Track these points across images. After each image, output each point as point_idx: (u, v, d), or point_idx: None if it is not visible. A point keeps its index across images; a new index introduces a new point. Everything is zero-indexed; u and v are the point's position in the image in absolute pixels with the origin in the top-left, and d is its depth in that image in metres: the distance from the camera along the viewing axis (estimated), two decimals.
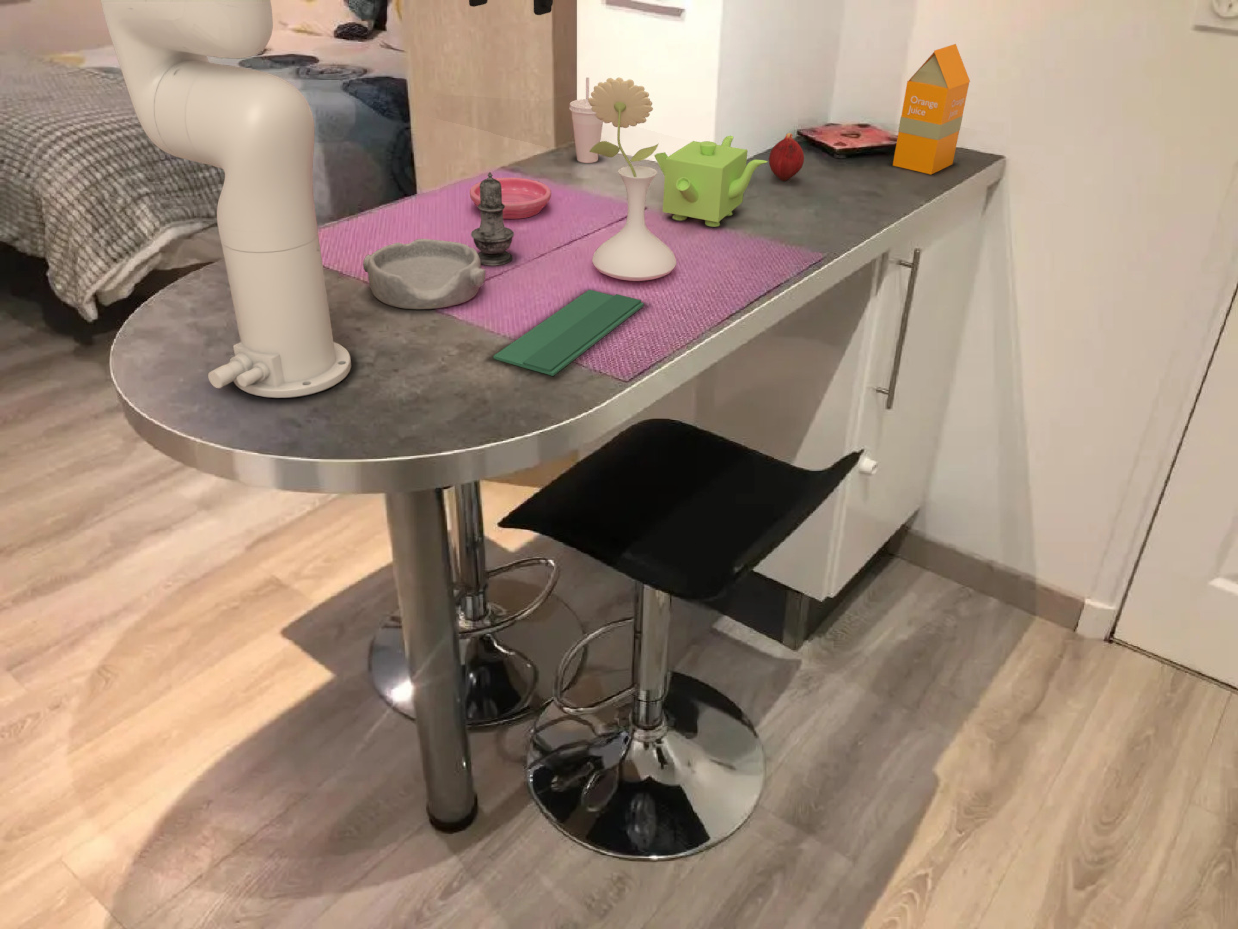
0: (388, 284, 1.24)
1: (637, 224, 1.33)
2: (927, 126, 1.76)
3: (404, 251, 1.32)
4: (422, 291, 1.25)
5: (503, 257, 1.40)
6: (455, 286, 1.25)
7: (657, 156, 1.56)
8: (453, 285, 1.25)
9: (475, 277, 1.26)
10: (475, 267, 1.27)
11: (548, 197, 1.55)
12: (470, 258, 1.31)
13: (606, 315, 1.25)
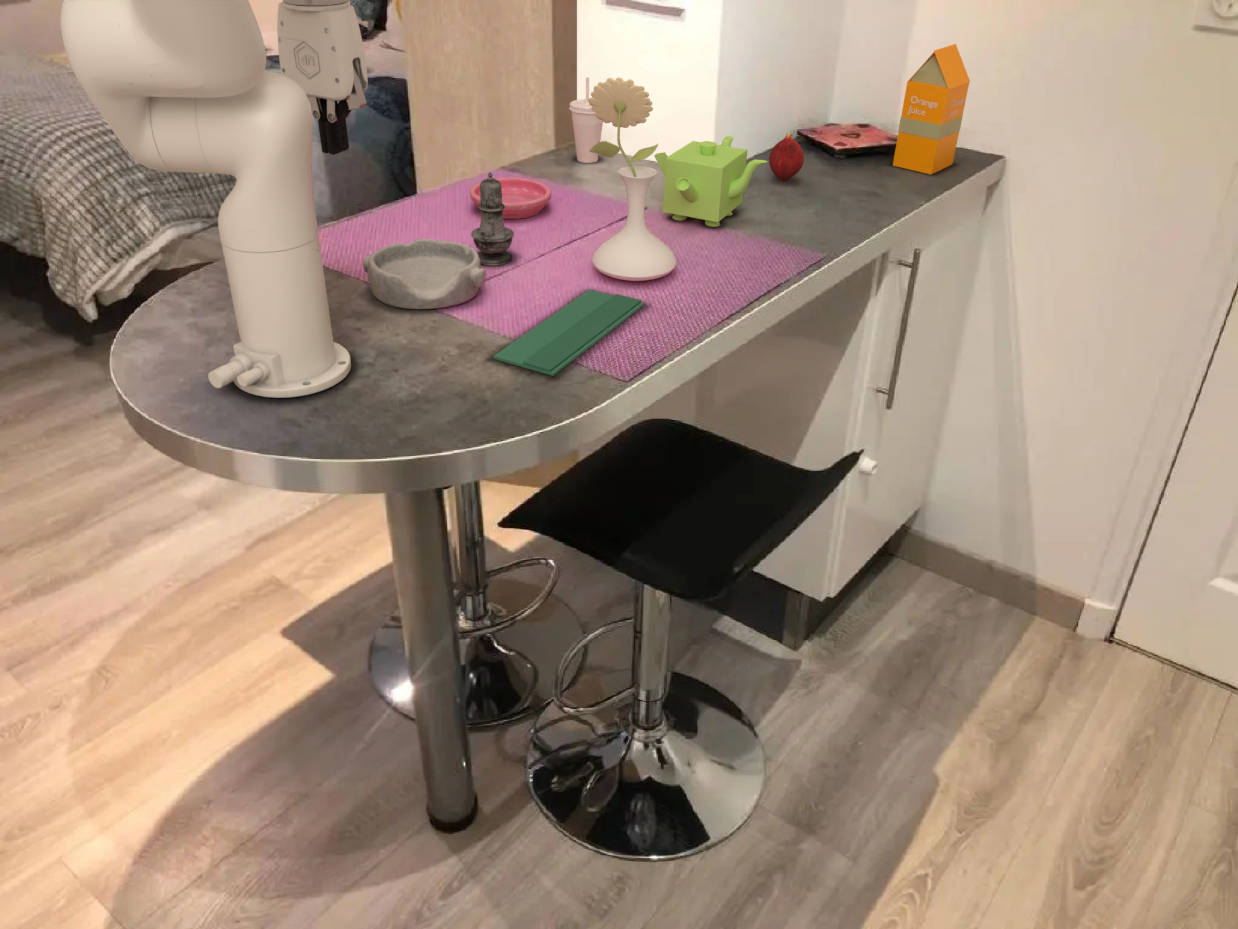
0: (388, 284, 1.24)
1: (637, 224, 1.33)
2: (927, 126, 1.76)
3: (404, 251, 1.32)
4: (422, 291, 1.25)
5: (503, 257, 1.40)
6: (455, 286, 1.25)
7: (657, 156, 1.56)
8: (453, 285, 1.25)
9: (475, 276, 1.26)
10: (475, 267, 1.27)
11: (548, 197, 1.55)
12: (470, 258, 1.31)
13: (606, 315, 1.25)
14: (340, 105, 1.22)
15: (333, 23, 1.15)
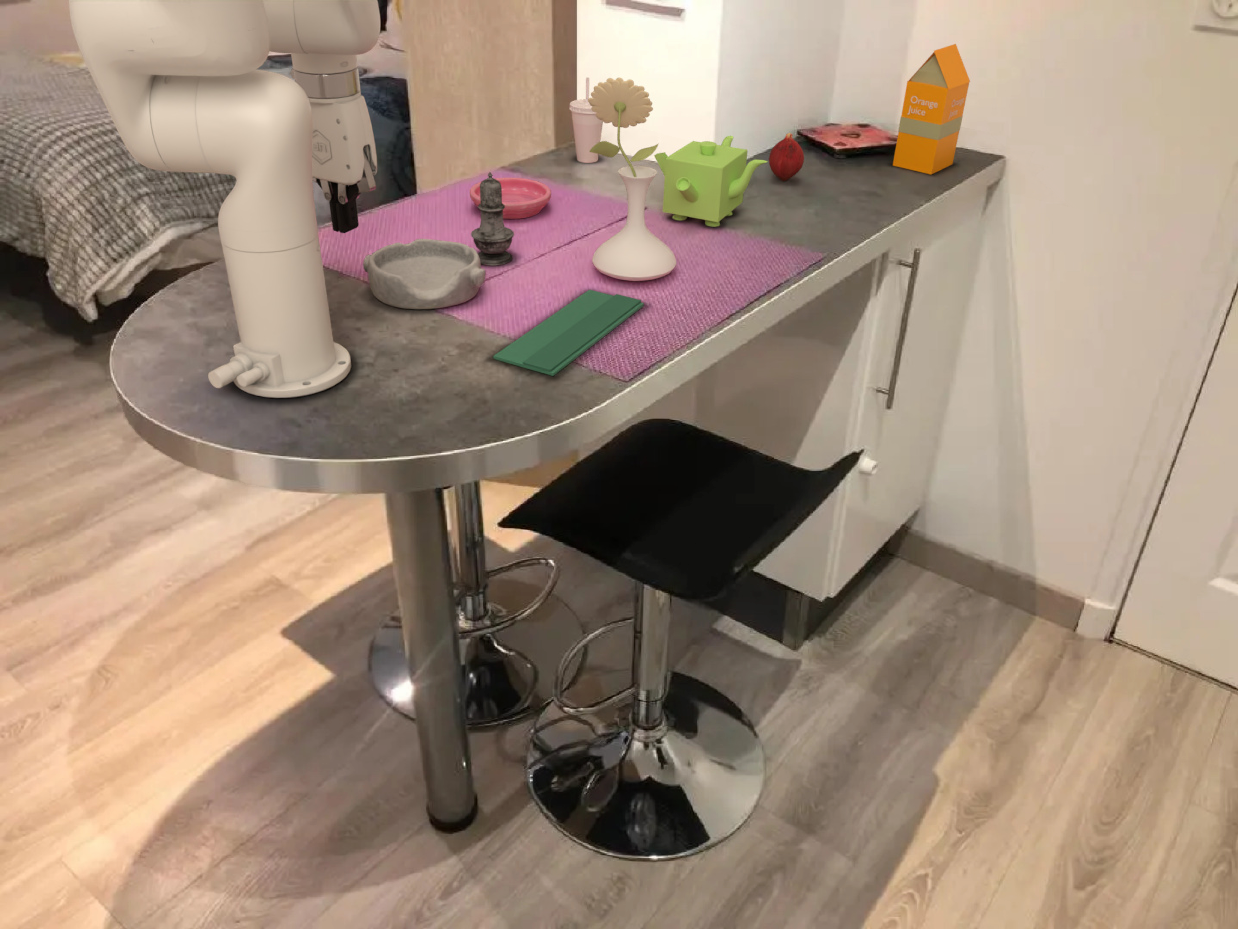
0: (388, 284, 1.24)
1: (637, 224, 1.33)
2: (927, 126, 1.76)
3: (404, 251, 1.32)
4: (422, 291, 1.25)
5: (503, 257, 1.40)
6: (455, 286, 1.25)
7: (657, 156, 1.56)
8: (453, 285, 1.25)
9: (475, 277, 1.26)
10: (475, 267, 1.27)
11: (548, 197, 1.55)
12: (470, 258, 1.31)
13: (606, 315, 1.25)
14: (351, 188, 1.28)
15: (345, 114, 1.21)
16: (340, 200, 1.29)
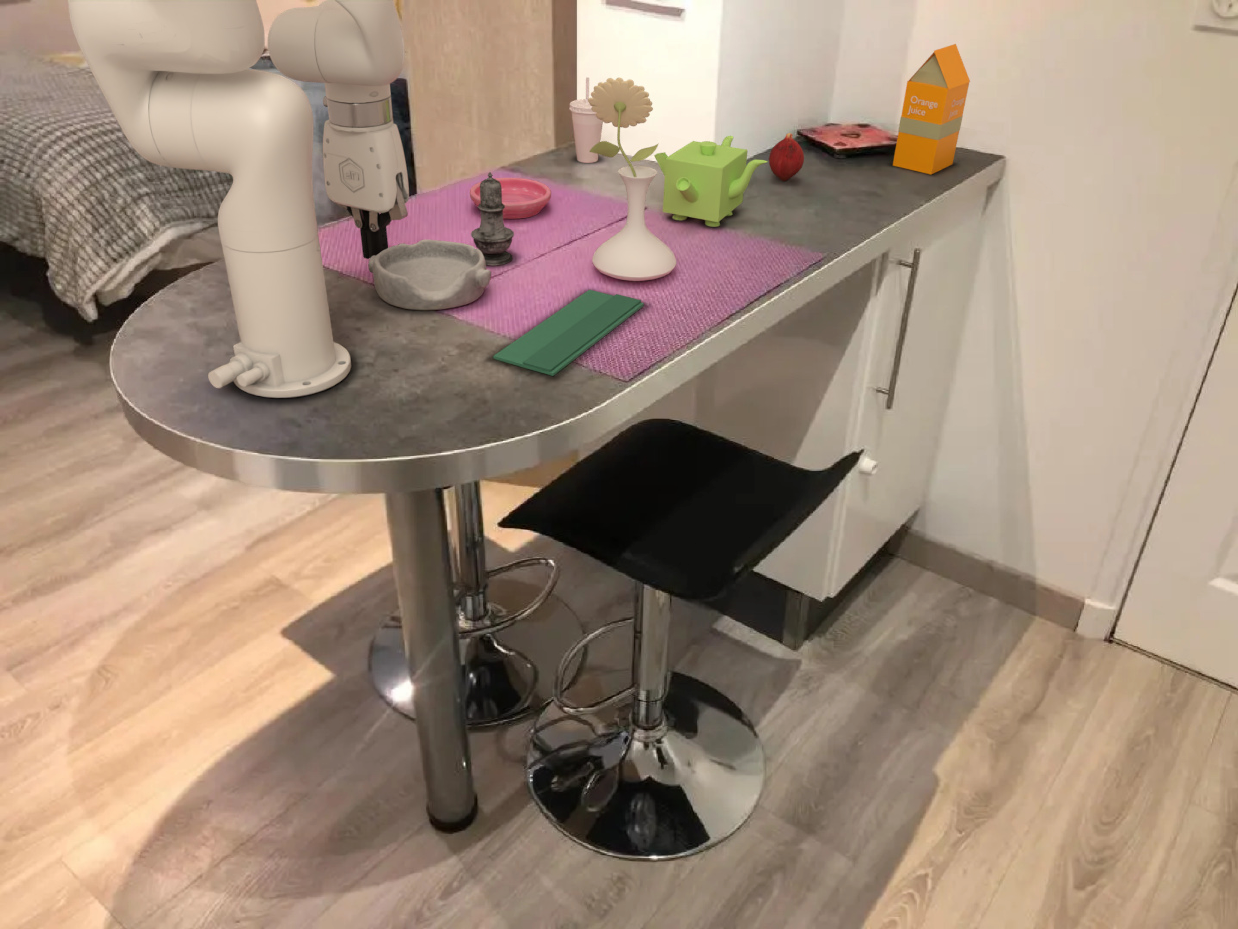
0: (393, 284, 1.24)
1: (637, 224, 1.33)
2: (927, 126, 1.76)
3: (409, 252, 1.32)
4: (427, 292, 1.24)
5: (503, 257, 1.40)
6: (461, 287, 1.25)
7: (657, 156, 1.56)
8: (458, 286, 1.25)
9: (481, 277, 1.26)
10: (480, 268, 1.26)
11: (548, 197, 1.55)
12: (475, 258, 1.30)
13: (606, 315, 1.25)
14: (382, 216, 1.27)
15: (378, 142, 1.20)
16: (371, 228, 1.29)
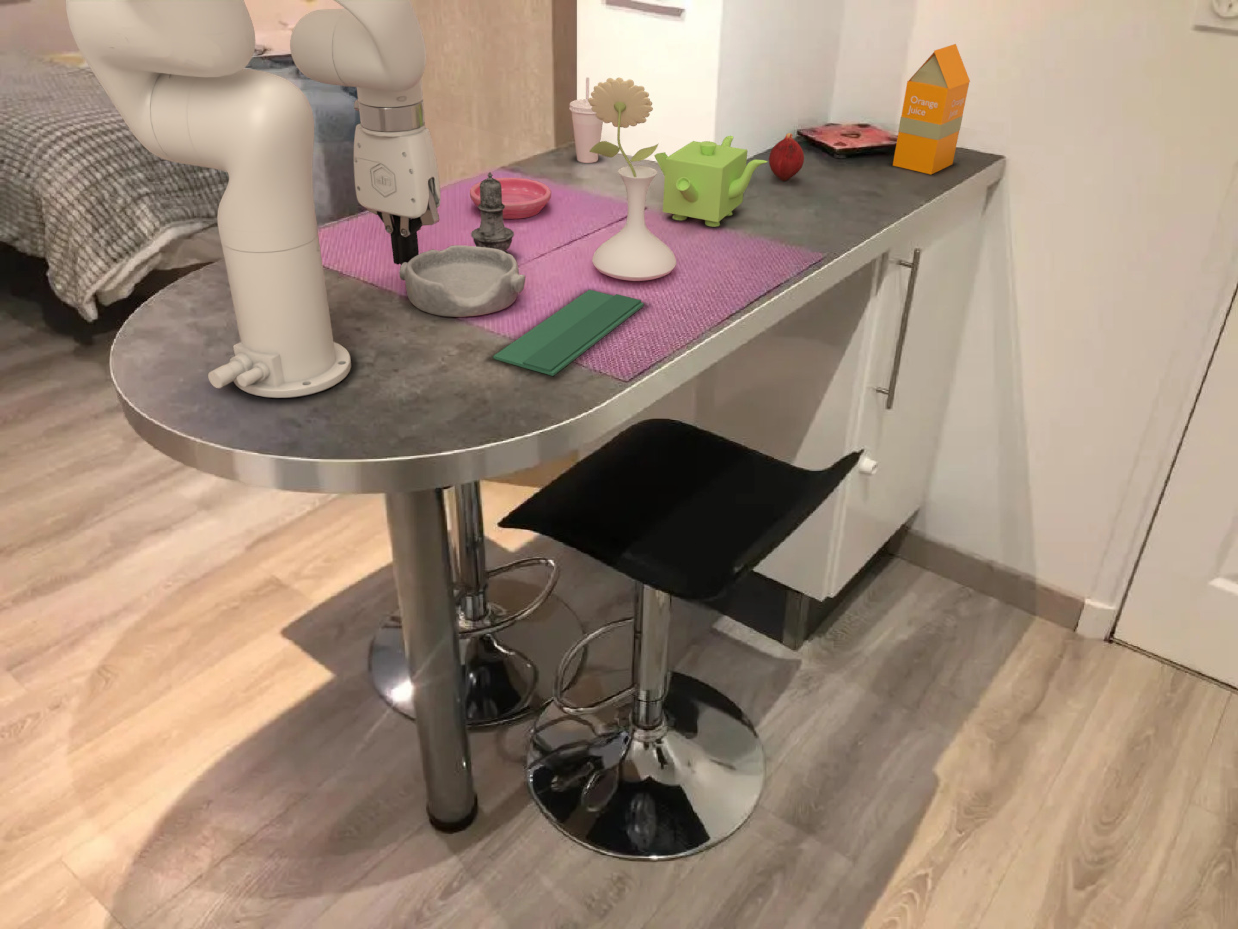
0: (429, 291, 1.22)
1: (637, 224, 1.33)
2: (927, 126, 1.76)
3: (439, 258, 1.31)
4: (463, 298, 1.23)
5: None
6: (496, 293, 1.24)
7: (657, 156, 1.56)
8: (494, 292, 1.24)
9: (516, 283, 1.25)
10: (515, 273, 1.25)
11: (548, 197, 1.55)
12: (507, 264, 1.29)
13: (606, 315, 1.25)
14: (413, 221, 1.26)
15: (411, 147, 1.19)
16: (402, 233, 1.27)
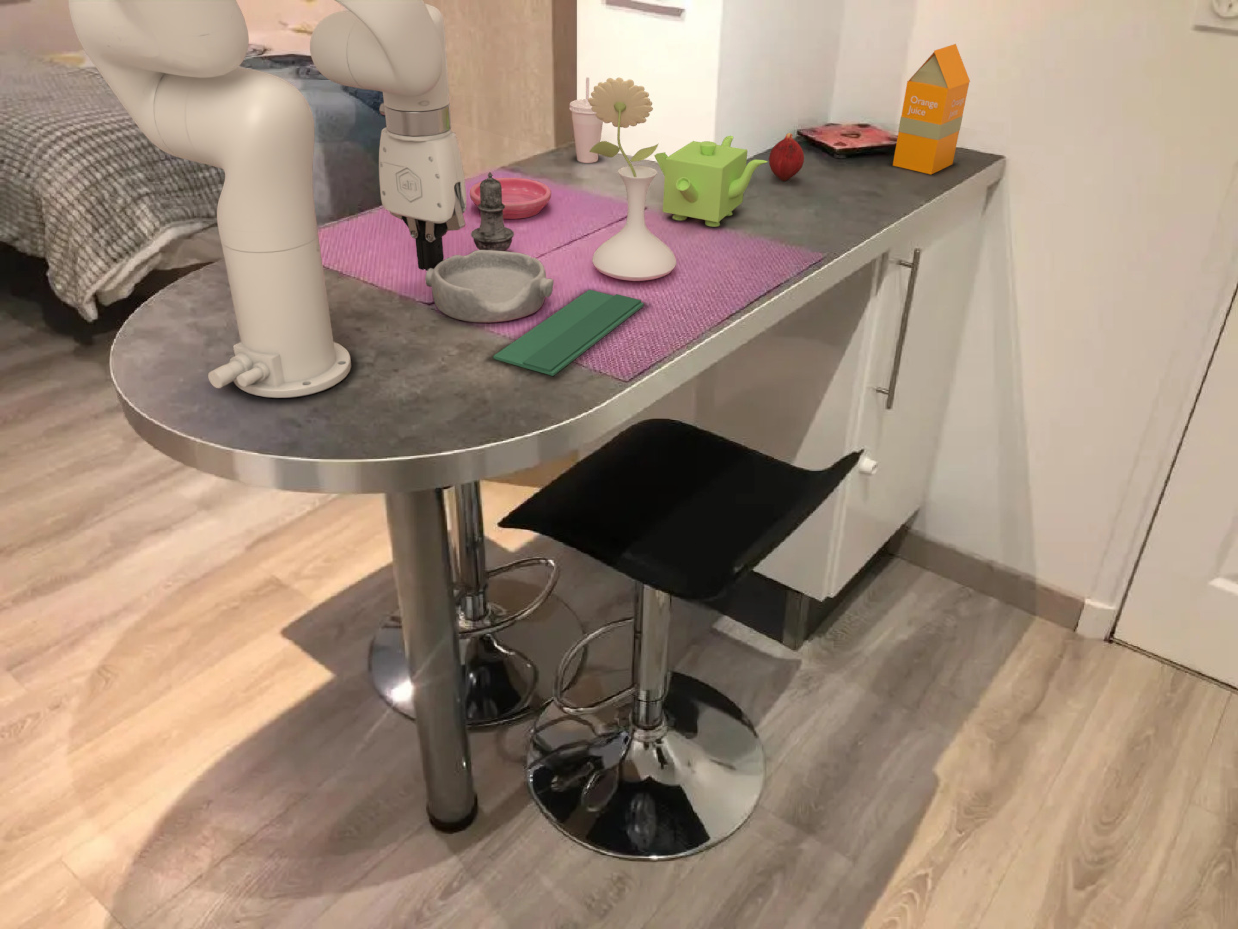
0: (458, 297, 1.21)
1: (637, 224, 1.33)
2: (927, 126, 1.76)
3: (463, 263, 1.30)
4: (493, 304, 1.22)
5: None
6: (526, 298, 1.23)
7: (657, 156, 1.56)
8: (524, 296, 1.23)
9: (545, 287, 1.24)
10: (543, 277, 1.24)
11: (548, 197, 1.55)
12: (533, 268, 1.28)
13: (606, 315, 1.25)
14: (439, 226, 1.24)
15: (438, 152, 1.17)
16: (427, 238, 1.26)
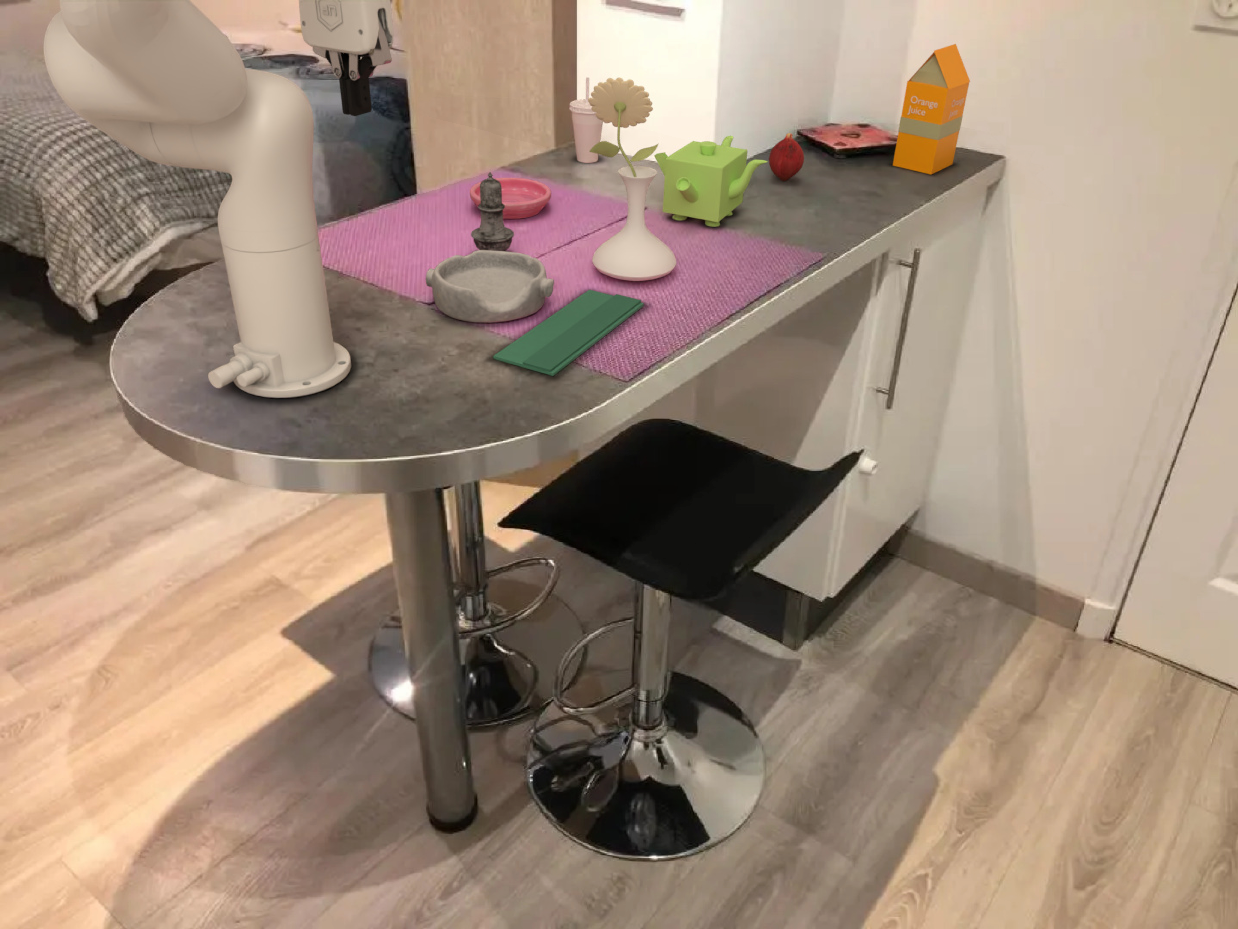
0: (459, 298, 1.21)
1: (637, 224, 1.33)
2: (927, 126, 1.76)
3: (463, 263, 1.30)
4: (493, 304, 1.22)
5: None
6: (527, 298, 1.23)
7: (657, 156, 1.56)
8: (524, 296, 1.23)
9: (546, 287, 1.24)
10: (544, 278, 1.24)
11: (548, 197, 1.55)
12: (534, 268, 1.28)
13: (606, 315, 1.25)
14: (363, 61, 1.14)
15: None
16: (351, 76, 1.15)
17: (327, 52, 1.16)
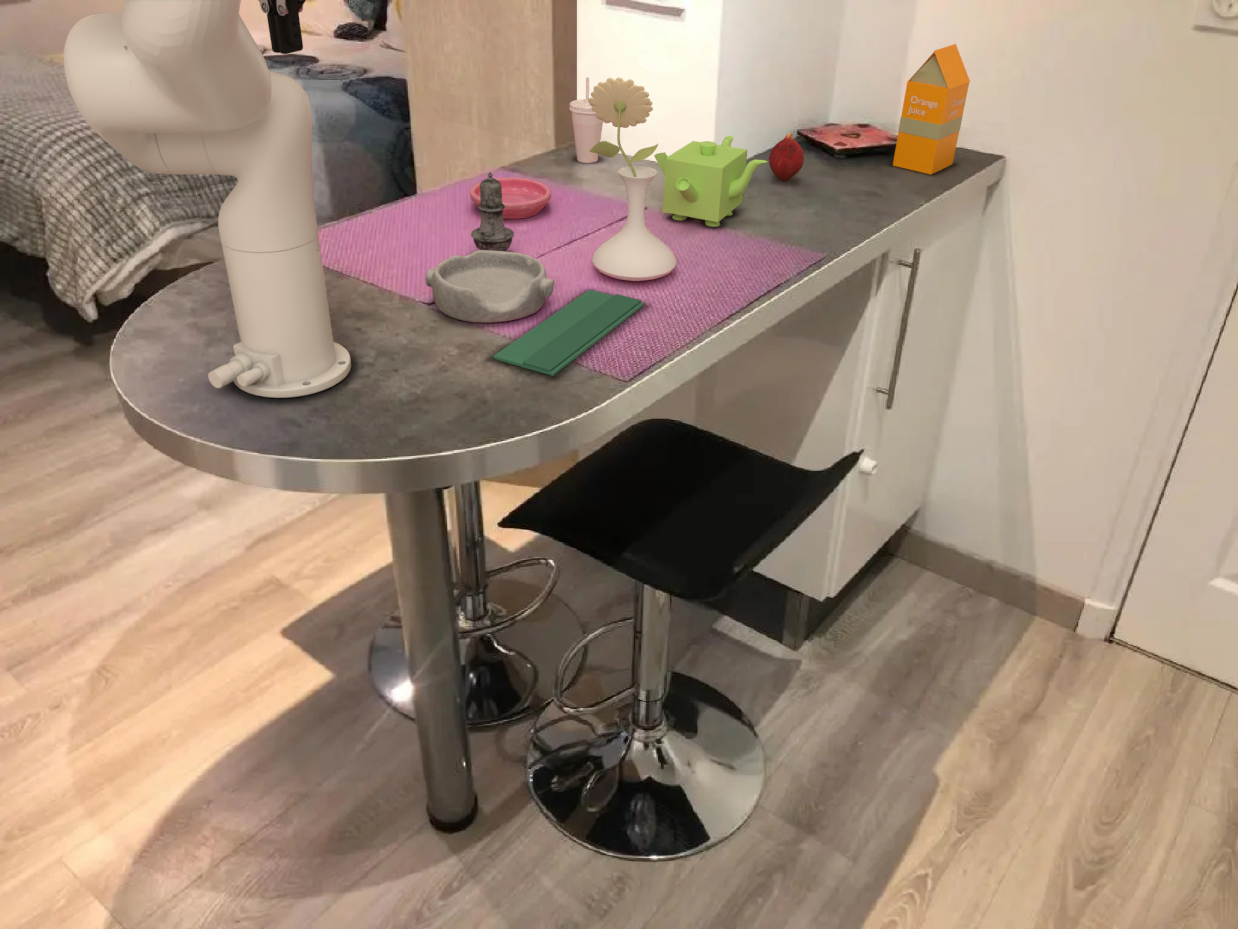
0: (459, 298, 1.21)
1: (637, 224, 1.33)
2: (927, 126, 1.76)
3: (463, 263, 1.30)
4: (493, 304, 1.22)
5: None
6: (527, 298, 1.23)
7: (657, 156, 1.56)
8: (524, 297, 1.23)
9: (546, 287, 1.24)
10: (544, 278, 1.24)
11: (548, 197, 1.55)
12: (534, 268, 1.28)
13: (606, 315, 1.25)
14: None
15: None
16: (279, 11, 1.10)
17: None
